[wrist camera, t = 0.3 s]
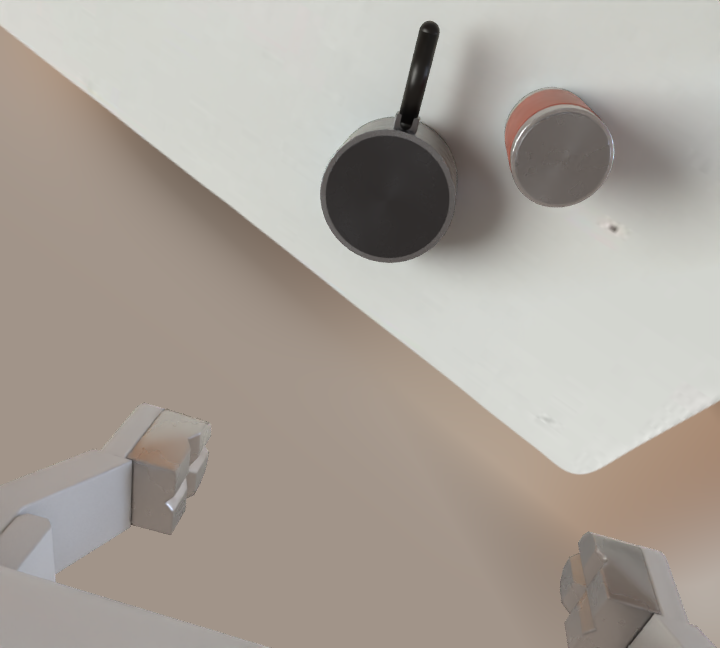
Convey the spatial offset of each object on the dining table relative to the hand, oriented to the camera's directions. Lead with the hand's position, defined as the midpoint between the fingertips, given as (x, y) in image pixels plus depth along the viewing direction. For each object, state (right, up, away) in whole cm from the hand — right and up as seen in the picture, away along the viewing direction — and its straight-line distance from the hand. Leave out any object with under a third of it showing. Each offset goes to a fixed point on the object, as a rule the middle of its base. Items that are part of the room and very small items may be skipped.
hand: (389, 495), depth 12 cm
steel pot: (+4, +21, +42) cm, 47 cm away
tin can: (+16, +21, +40) cm, 48 cm away
